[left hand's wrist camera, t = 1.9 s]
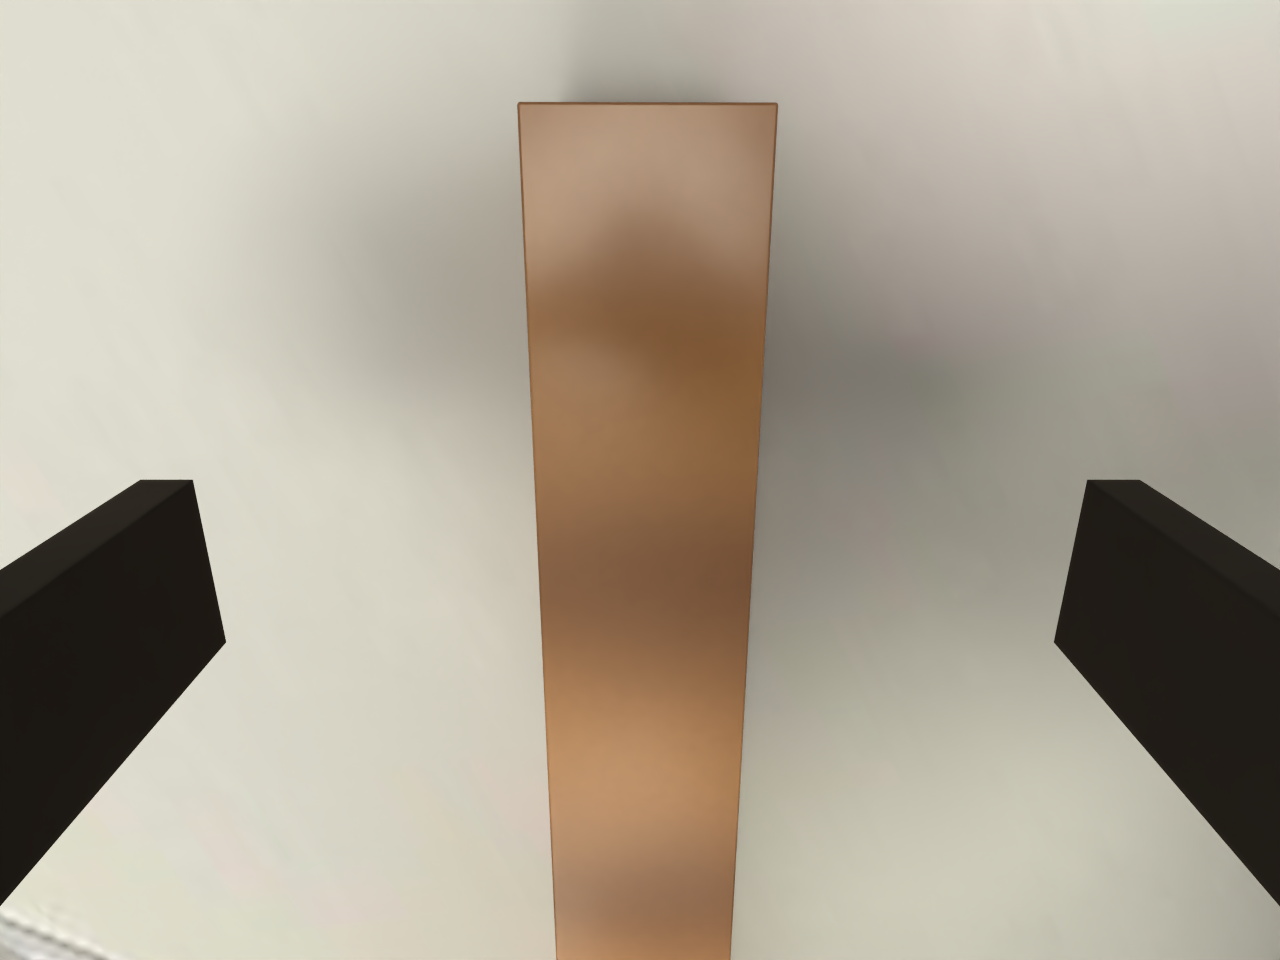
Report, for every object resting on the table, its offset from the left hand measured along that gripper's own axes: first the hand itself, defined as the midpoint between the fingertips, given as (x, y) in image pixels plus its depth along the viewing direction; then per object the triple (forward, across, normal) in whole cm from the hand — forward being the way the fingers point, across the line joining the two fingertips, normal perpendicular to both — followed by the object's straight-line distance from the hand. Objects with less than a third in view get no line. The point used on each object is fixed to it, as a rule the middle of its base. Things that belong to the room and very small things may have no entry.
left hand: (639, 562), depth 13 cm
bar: (+14, 0, -33) cm, 36 cm away
